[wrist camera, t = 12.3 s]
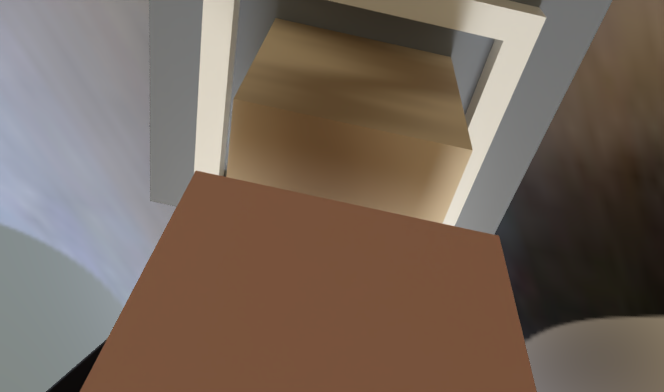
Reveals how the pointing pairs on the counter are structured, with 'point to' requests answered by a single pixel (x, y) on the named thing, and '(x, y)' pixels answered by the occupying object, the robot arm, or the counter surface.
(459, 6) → the baseplate
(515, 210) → the counter surface
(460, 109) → the maple block
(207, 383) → the terracotta block
